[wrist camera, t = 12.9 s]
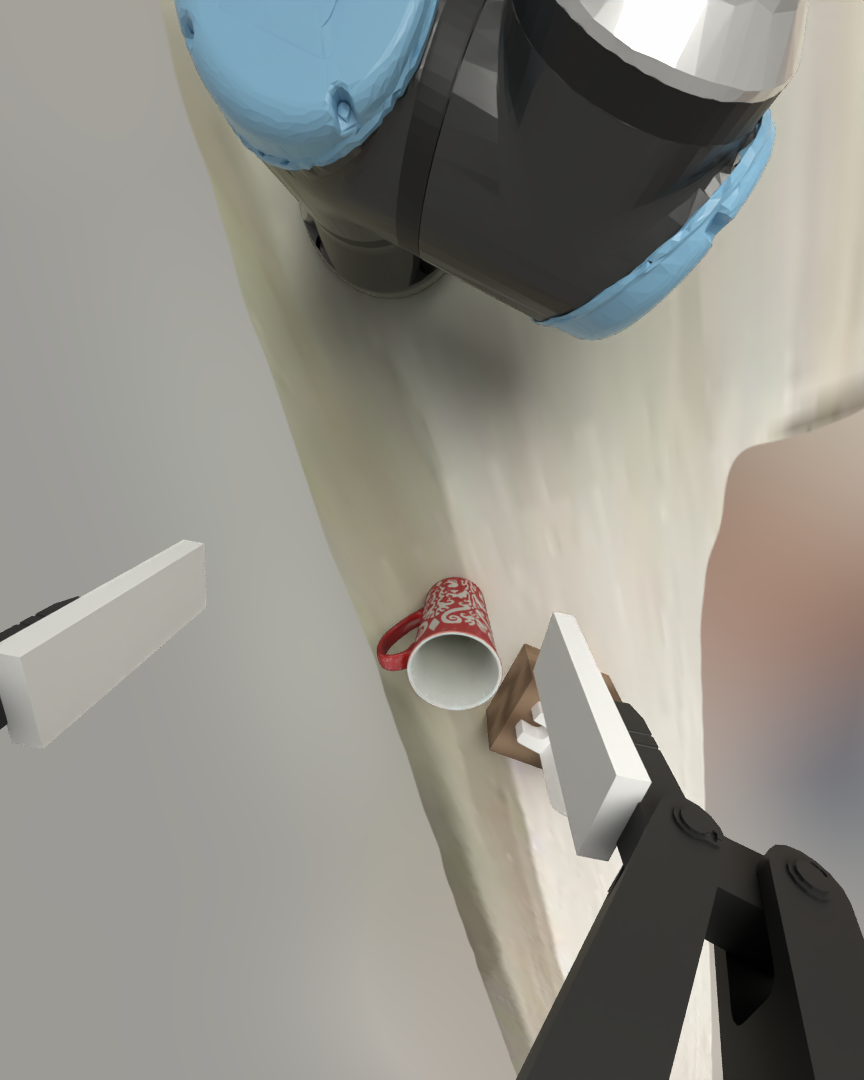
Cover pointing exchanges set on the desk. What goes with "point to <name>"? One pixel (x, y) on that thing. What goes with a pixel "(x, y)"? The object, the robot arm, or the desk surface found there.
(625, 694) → the desk surface
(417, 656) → the mug
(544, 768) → the cable organizer
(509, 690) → the walnut block
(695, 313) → the desk surface
